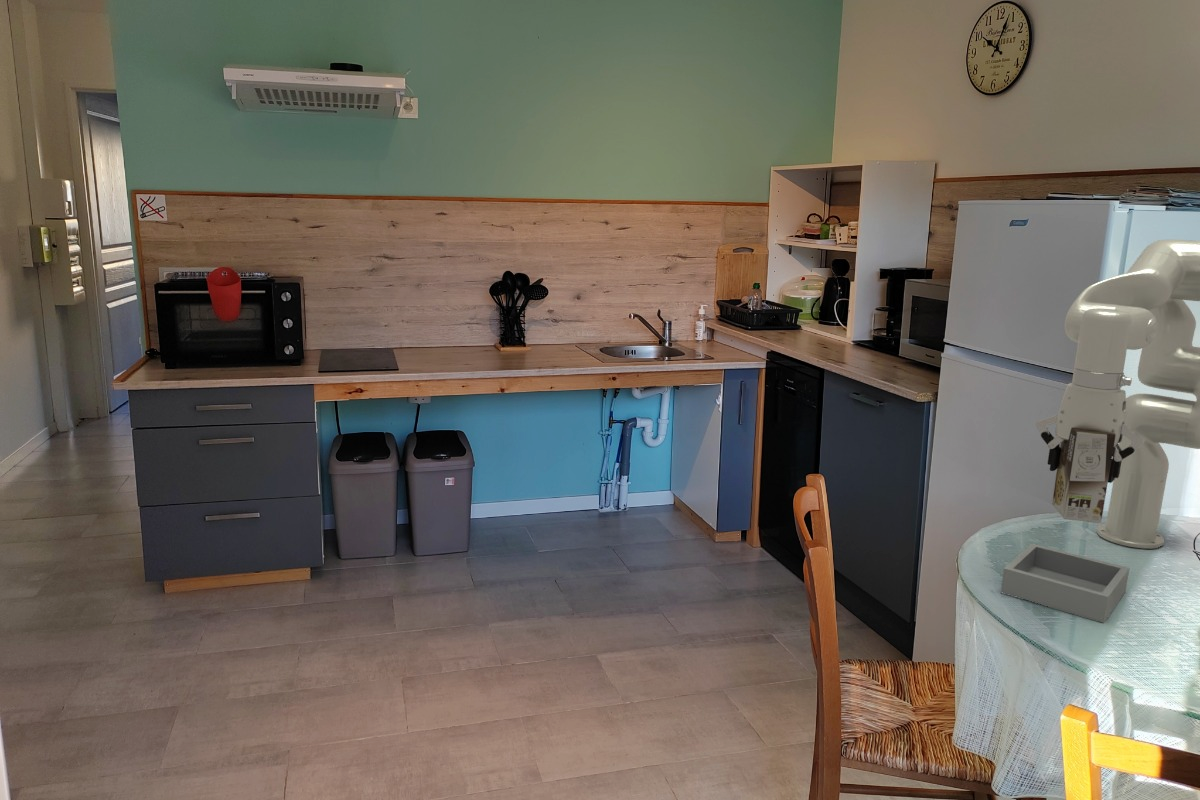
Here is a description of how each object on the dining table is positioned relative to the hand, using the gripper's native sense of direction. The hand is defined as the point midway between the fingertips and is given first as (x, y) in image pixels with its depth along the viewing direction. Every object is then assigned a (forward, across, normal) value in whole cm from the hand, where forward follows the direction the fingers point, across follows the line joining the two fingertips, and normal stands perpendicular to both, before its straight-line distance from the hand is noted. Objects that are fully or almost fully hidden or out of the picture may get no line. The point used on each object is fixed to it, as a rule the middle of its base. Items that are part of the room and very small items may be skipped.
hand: (1081, 474), depth 161 cm
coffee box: (+7, 0, 0) cm, 7 cm away
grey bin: (+23, 0, 0) cm, 23 cm away
